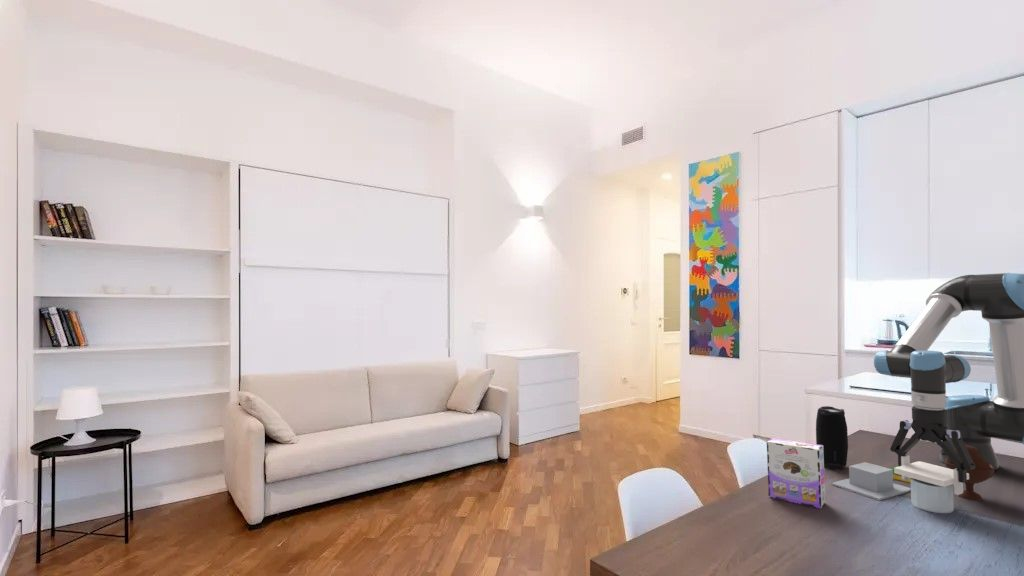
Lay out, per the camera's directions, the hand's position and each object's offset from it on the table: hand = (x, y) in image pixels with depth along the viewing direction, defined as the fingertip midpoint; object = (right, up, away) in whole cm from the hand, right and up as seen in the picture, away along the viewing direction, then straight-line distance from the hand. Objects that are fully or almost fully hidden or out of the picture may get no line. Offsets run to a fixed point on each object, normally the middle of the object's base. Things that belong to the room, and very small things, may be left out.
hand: (931, 486), depth 144 cm
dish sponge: (+12, -6, +24) cm, 28 cm away
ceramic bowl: (0, -6, 0) cm, 6 cm away
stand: (-7, -6, +14) cm, 17 cm away
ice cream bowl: (+16, -6, +6) cm, 18 cm away
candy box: (-34, -7, +6) cm, 35 cm away
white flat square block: (0, +3, 0) cm, 3 cm away
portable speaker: (-6, -6, +35) cm, 36 cm away
